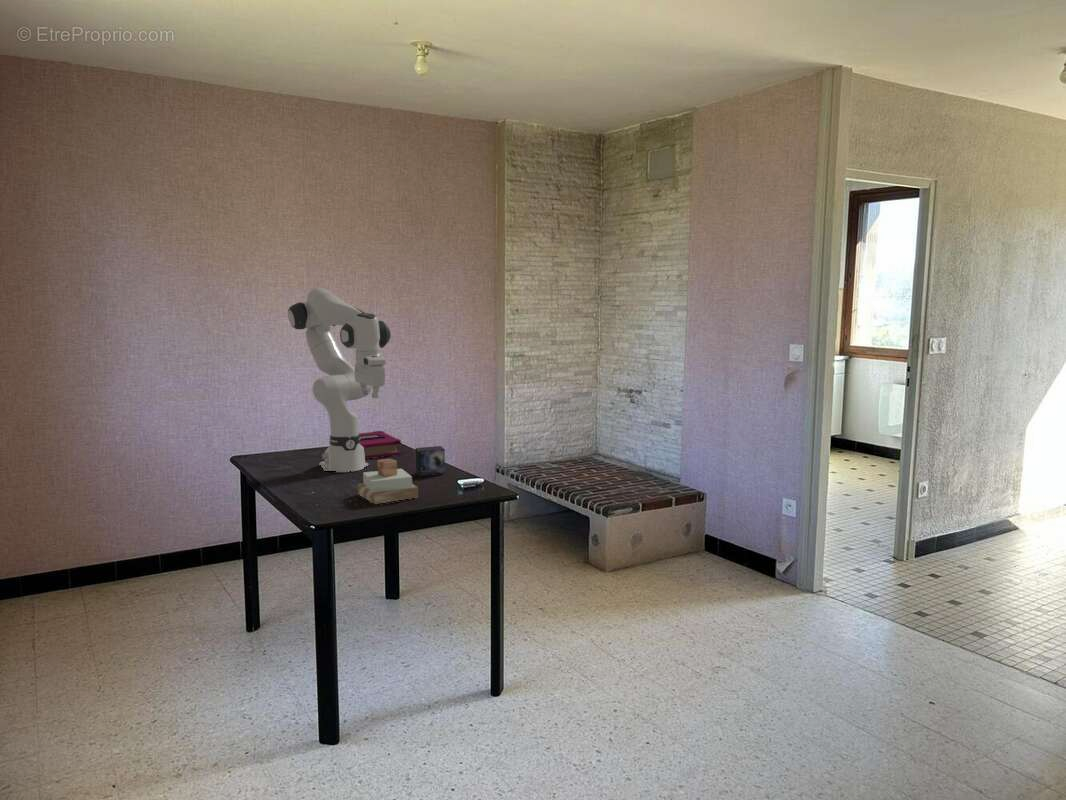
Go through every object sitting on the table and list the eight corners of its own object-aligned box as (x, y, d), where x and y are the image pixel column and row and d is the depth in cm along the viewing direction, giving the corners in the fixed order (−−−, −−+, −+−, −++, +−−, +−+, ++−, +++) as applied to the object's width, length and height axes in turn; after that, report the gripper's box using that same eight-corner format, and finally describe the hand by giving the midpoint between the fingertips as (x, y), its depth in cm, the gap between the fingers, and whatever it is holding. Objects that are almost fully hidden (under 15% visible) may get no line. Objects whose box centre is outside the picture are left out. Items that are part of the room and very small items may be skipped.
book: (355, 461, 329) (355, 444, 328) (338, 450, 353) (337, 434, 352) (402, 455, 339) (401, 439, 338) (382, 445, 363) (381, 429, 362)
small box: (419, 477, 298) (418, 450, 297) (415, 473, 304) (414, 447, 303) (445, 474, 302) (445, 448, 301) (441, 471, 308) (440, 445, 307)
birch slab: (358, 496, 273) (357, 484, 272) (399, 489, 281) (399, 477, 281) (375, 506, 259) (374, 494, 259) (418, 499, 268) (418, 487, 268)
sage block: (363, 483, 273) (363, 472, 273) (401, 479, 279) (401, 468, 278) (372, 492, 261) (371, 481, 260) (412, 488, 266) (411, 476, 266)
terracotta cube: (378, 474, 270) (377, 460, 269) (390, 472, 273) (390, 458, 272) (384, 477, 266) (383, 462, 265) (397, 474, 269) (396, 460, 268)
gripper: (349, 357, 282) (351, 394, 284) (370, 361, 265) (372, 400, 267) (365, 356, 286) (367, 392, 288) (387, 360, 269) (389, 398, 271)
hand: (369, 396), depth 277 cm, fingers open, 8 cm apart
